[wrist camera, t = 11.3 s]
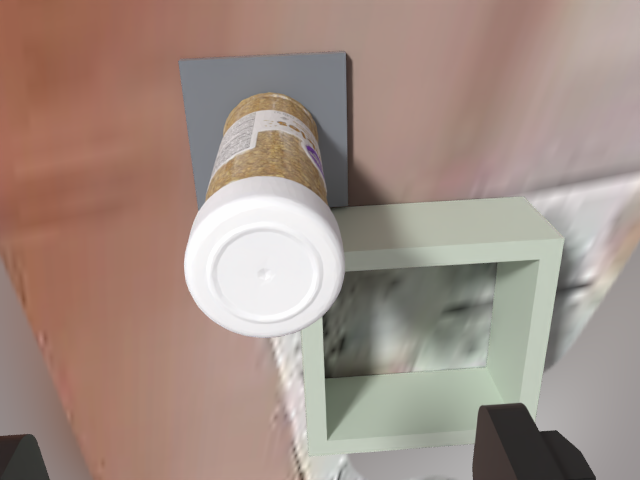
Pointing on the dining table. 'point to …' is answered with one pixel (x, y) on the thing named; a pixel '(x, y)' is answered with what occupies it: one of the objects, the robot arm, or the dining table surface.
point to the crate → (445, 385)
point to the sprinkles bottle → (266, 225)
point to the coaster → (262, 77)
